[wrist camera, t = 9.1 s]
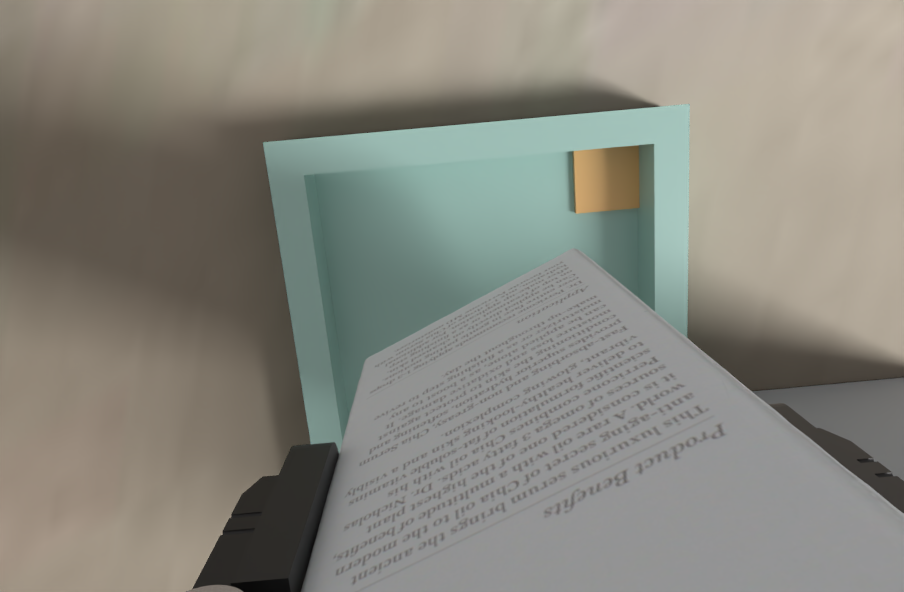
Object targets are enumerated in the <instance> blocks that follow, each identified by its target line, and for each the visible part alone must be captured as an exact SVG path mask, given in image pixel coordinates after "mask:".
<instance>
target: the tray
mask: <svg viewBox="0 0 904 592" xmlns="http://www.w3.org/2000/svg"><path fill="white" fill-rule="evenodd" d="M689 112H690V104H684V105H673V106H662V107H651V108H639V109H628V110H617V111H606V112H595V113H584V114H573V115H561V116H550V117H539V118H528V119H517V120H506V121H495V122H483V123H472V124H461V125H450V126H439V127H428V128H417V129H406V130H394V131H383V132H372V133H361V134H350V135H339V136H328V137H316V138H305V139H294V140H283V141H272V142H263V146H264V153H265V159H266V165H267V171H268V178H269V184H270V190H271V197H272V203H273V209H274V215H275V222H276V228H277V234H278V241H279V247H280V253H281V259H282V266H283V272H284V278H285V285H286V291H287V297H288V303H289V310H290V316H291V322H292V329H293V335H294V341H295V347H296V354H297V360H298V366H299V373H300V379H301V385H302V391H303V398H304V404H305V410H306V417H307V423H308V429H309V435H310V442H311V444H319V443H330V442H335V443H336V445H337V448H338V452H340V449H341V445H342V442H343V438H344V434H345V431H346V427H347V424H348V420H349V415H350V411H351V408H352V404H353V402H354V397H355V394H356V390H357V386H358V382H359V380H360V377H361V373H362V369H363V365H364V362H365V360H366V359H367V358H369V357H370V356H372V355H374V354H376V353H378V352H380V351H382V350H384V349H385V348H387V347H389V346H391V345H393V344H395V343H397V342H399V341H400V340H402V339H404V338H406V337H408V336H410V335H412V334H414V333H416V332H417V331H419V330H421V329H423V328H425V327H426V326H428V325H430V324H432V323H434V322H436V321H437V320H439V319H441V318H443V317H445V316H447V315H449V314H451V313H453V312H455V311H456V310H458V309H460V308H462V307H464V306H466V305H467V304H469V303H471V302H473V301H475V300H476V299H478V298H480V297H482V296H484V295H486V294H488V293H490V292H492V291H493V290H495V289H497V288H499V287H501V286H503V285H505V284H506V283H508V282H510V281H512V280H514V279H516V278H518V277H520V276H522V275H523V274H525V273H527V272H529V271H531V270H533V269H535V268H537V267H539V266H540V265H542V264H544V263H546V262H548V261H550V260H552V259H554V258H556V257H557V256H559V255H561V254H563V253H564V252H566V251H568V250H570V249H572V248H574V249H578V250H580V251H582V252H583V253H584V254H586V255H587V256H588V257H589V258H590V259H592V260H593V261H594V262H596V263H597V264H598V265H599V266H600V267H601V268H603V269H604V270H605V271H606V272H608V273H609V274H610V275H611V276H612V277H614V278H615V279H616V280H617V281H619V282H620V283H621V284H622V285H623V286H625V287H626V288H627V289H628V290H629V291H631V292H632V293H633V294H634V295H636V296H637V297H638V298H639V299H640V300H642V301H643V302H644V303H645V304H646V305H647V306H649V307H650V308H651V309H652V310H653V311H655V312H656V313H657V314H658V315H659V316H661V317H662V318H663V319H664V320H665V321H667V322H668V323H669V324H670V325H671V326H673V327H674V328H675V329H676V330H678V331H679V332H680V333H681V334H683V335H684V336H685V337H686V338H687V323H688V217H689Z"/></svg>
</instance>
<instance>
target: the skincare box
mask: <svg viewBox="0 0 904 592" xmlns="http://www.w3.org/2000/svg"><path fill="white" fill-rule="evenodd" d="M301 592H904V513H902V512H901V511H900V510H898V509H897V508H896V507H894V506H893V505H892V504H891V503H890V502H888V501H887V500H886V499H885V498H884V497H882V496H881V495H880V494H879V493H877V492H876V491H875V490H874V489H873V488H871V487H870V486H869V485H868V484H866V483H865V482H864V481H862V480H861V479H860V478H858V477H857V476H856V475H854V474H853V473H852V472H850V471H849V470H848V469H846V468H845V467H844V466H843V465H841V464H840V463H839V462H838V461H837V460H835V459H834V458H833V457H832V456H831V455H829V454H828V453H827V452H826V451H825V450H823V449H822V448H821V447H820V446H819V445H817V444H816V443H815V442H814V441H813V440H811V439H810V438H809V437H808V436H806V435H805V434H804V433H802V432H801V431H800V430H798V429H797V428H796V427H794V426H793V425H792V424H791V423H789V422H788V421H787V420H786V419H785V418H784V417H783V416H782V415H780V414H779V413H778V412H777V411H776V410H775V409H773V408H772V407H771V406H769V405H768V404H767V403H766V402H764V401H763V400H762V399H760V398H759V397H758V396H757V395H755V394H754V393H753V392H752V391H750V390H749V389H748V388H747V387H746V386H744V385H743V384H742V383H741V382H740V381H738V380H737V379H736V378H735V377H734V376H732V375H731V374H730V373H729V372H728V371H726V370H725V369H724V368H723V367H722V366H720V365H719V364H718V363H717V362H716V361H714V360H713V359H712V358H711V357H709V356H708V355H707V354H706V353H704V352H703V351H702V350H701V349H700V348H698V347H697V346H696V345H695V344H694V343H693V342H691V341H690V340H689V339H688V338H686V337H685V336H684V335H683V334H681V333H680V332H679V331H678V330H676V329H675V328H674V327H673V326H671V325H670V324H669V323H668V322H667V321H665V320H664V319H663V318H662V317H661V316H659V315H658V314H657V313H656V312H655V311H653V310H652V309H651V308H650V307H649V306H647V305H646V304H645V303H644V302H643V301H642V300H640V299H639V298H638V297H637V296H636V295H634V294H633V293H632V292H631V291H629V290H628V289H627V288H626V287H625V286H623V285H622V284H621V283H620V282H619V281H617V280H616V279H615V278H614V277H612V276H611V275H610V274H609V273H608V272H606V271H605V270H604V269H603V268H601V267H600V266H599V265H598V264H597V263H596V262H594V261H593V260H592V259H590V258H589V257H588V256H587V255H586V254H584V253H583V252H582V251H580V250H578V249H574V248H572V249H570V250H568V251H566V252H564V253H563V254H561V255H559V256H557V257H556V258H554V259H552V260H550V261H548V262H546V263H544V264H542V265H540V266H539V267H537V268H535V269H533V270H531V271H529V272H527V273H525V274H523V275H522V276H520V277H518V278H516V279H514V280H512V281H510V282H508V283H506V284H505V285H503V286H501V287H499V288H497V289H495V290H493V291H492V292H490V293H488V294H486V295H484V296H482V297H480V298H478V299H476V300H475V301H473V302H471V303H469V304H467V305H466V306H464V307H462V308H460V309H458V310H456V311H455V312H453V313H451V314H449V315H447V316H445V317H443V318H441V319H439V320H437V321H436V322H434V323H432V324H430V325H428V326H426V327H425V328H423V329H421V330H419V331H417V332H416V333H414V334H412V335H410V336H408V337H406V338H404V339H402V340H400V341H399V342H397V343H395V344H393V345H391V346H389V347H387V348H385V349H384V350H382V351H380V352H378V353H376V354H374V355H372V356H370V357H369V358H367V359H366V360H365V362H364V365H363V369H362V373H361V377H360V380H359V382H358V386H357V390H356V394H355V397H354V402H353V404H352V408H351V411H350V415H349V420H348V424H347V427H346V431H345V434H344V438H343V442H342V445H341V449H340V452H339V456H338V460H337V463H336V467H335V470H334V474H333V478H332V481H331V484H330V488H329V491H328V495H327V499H326V503H325V506H324V509H323V513H322V518H321V521H320V524H319V528H318V532H317V536H316V539H315V543H314V546H313V549H312V553H311V557H310V561H309V564H308V568H307V572H306V575H305V579H304V582H303V586H302V589H301Z"/></svg>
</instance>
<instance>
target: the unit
mask: <svg viewBox="0 0 904 592" xmlns="http://www.w3.org/2000/svg"><path fill="white" fill-rule="evenodd" d="M752 392H753V393H754V394H755V395H757V396H758V397H759V398H760V399H762V400H763V401H764V402H766V403H767V404H776V403H784V404H786V405H788V406H789V407H790V408H791V409H793V410H794V411H795V412H797V413H798V414H799V415H800V416H802V417H803V418H804V419H805V420H807V421H808V422H809V423H810V424H812V425H813V426H814V427H816V428H822V429H824V430H826V431H829V432H831V433H833V434H836V435H838V436H840V437H843V438H845V439H847V440H850V441H852V442H853V443H854V444H855V445H857V446H858V447H859V448H861V449H862V450H863V451H865V452H866V453H867V454H869V455H870V456H871V457H873V459H874V462H877V461H878V462H879V463H881V464H882V465H883V466H885V467H886V468H887V469H889V470H890V471H891V472H892V474H893V476H898V477H899V478H901V479H902V480H903V481H904V377H903V378H893V379H882V380H871V381H860V382H849V383H838V384H828V385H817V386H806V387H795V388H784V389H773V390H763V391H752Z"/></svg>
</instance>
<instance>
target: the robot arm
mask: <svg viewBox="0 0 904 592" xmlns="http://www.w3.org/2000/svg"><path fill="white" fill-rule="evenodd" d="M768 405H769V406H771V407H772V408H773V409H775V410H776V411H777V412H778V413H779V414H780V415H782V416H783V417H784V418H785V419H786V420H787V421H788V422H789V423H791V424H792V425H793V426H794V427H796V428H797V429H798V430H800V431H801V432H802V433H804V434H805V435H806V436H808V437H809V438H810V439H811V440H813V441H814V442H815V443H816V444H817V445H819V446H820V447H821V448H822V449H823V450H825V451H826V452H827V453H828V454H829V455H831V456H832V457H833V458H834V459H835V460H837V461H838V462H839V463H840V464H841V465H843V466H844V467H845V468H846V469H848V470H849V471H850V472H852V473H853V474H854V475H856V476H857V477H858V478H860V479H861V480H862V481H864V482H865V483H866V484H868V485H869V486H870V487H871V488H873V489H874V490H875V491H876V492H877V493H879V494H880V495H881V496H882V497H884V498H885V499H886V500H887V501H888V502H890V503H891V504H892V505H893V506H894V507H896V508H897V509H898V510H900V511H901V512H902V513H904V481H903V480H902V479H901V478H899V477H898V476H893V474H892V472H891V471H890V470H889V469H887V468H886V467H885V466H883V465H882V464H881V463H879V462H878V461H877V462H874V459H873V457H871V456H870V455H869V454H867V453H866V452H865V451H863V450H862V449H861V448H859V447H858V446H857V445H855V444H854V443H853V442H852V441H850V440H847V439H845V438H843V437H840V436H838V435H836V434H833V433H831V432H829V431H826V430H824V429H822V428H816V427H814V426H813V425H812V424H810V423H809V422H808V421H807V420H805V419H804V418H803V417H802V416H800V415H799V414H798V413H797V412H795V411H794V410H793V409H791V408H790V407H789V406H788V405H786V404H784V403H776V404H768ZM338 456H339V452H338V448H337V445H336V443H335V442H330V443H319V444H308V445H297V446H292V447H291V449H290V451H289V454H288V456H287V458H286V460H285V462H284V465H283V467H282V469H281V471H280V474H279V475H276V476H265V477H262V478H261V479H259V480H258V481H257V482H256V483H255V484H254V485H252V486H251V487H250V488H249V489H248V490H247V491H245V492H244V493H243V494H242V495H241V497H240V499H239V501H238V503H237V505H236V507H235V509H234V510H233V512H232V514H231V515H232V517H231V518H229V520H228V522H227V524H226V526H225V528H224V530H223V535H220V537H219V539H218V541H217V543H216V545H215V547H214V549H213V550H212V552H211V554H210V556H209V558H208V560H207V562H206V564H205V566H204V568H203V570H202V571H201V573H200V575H199V577H198V579H197V581H196V583H195V585H194V587H193V589H191V590H189V591H186V592H301V589H302V586H303V582H304V579H305V575H306V572H307V568H308V564H309V561H310V557H311V553H312V549H313V546H314V543H315V539H316V536H317V532H318V528H319V524H320V521H321V518H322V513H323V509H324V506H325V503H326V499H327V495H328V491H329V488H330V484H331V481H332V478H333V474H334V470H335V467H336V463H337V460H338Z"/></svg>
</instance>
